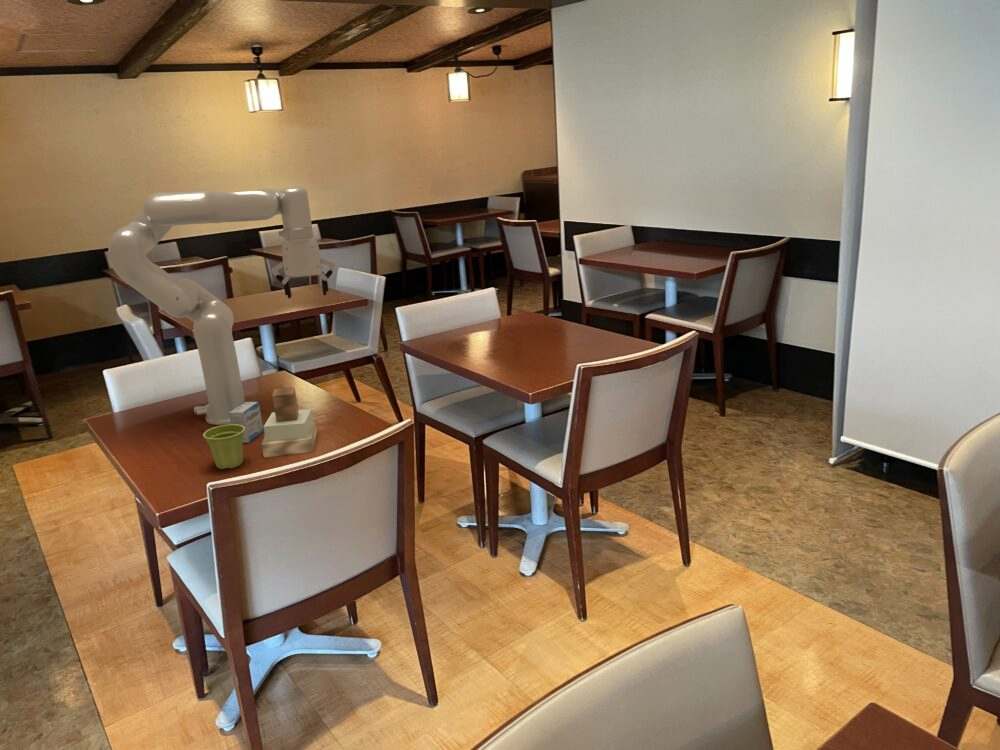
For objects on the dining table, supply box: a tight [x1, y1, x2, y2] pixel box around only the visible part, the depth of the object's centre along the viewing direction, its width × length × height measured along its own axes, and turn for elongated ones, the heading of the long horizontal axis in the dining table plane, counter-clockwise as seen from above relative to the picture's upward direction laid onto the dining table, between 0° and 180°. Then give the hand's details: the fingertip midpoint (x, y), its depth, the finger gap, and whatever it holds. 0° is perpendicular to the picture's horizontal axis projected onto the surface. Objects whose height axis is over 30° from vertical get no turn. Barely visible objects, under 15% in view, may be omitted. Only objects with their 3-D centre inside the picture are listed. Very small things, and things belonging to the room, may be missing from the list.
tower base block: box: [261, 421, 318, 458], centre depth 190 cm, size 12×12×4 cm
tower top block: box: [263, 408, 314, 442], centre depth 189 cm, size 10×10×4 cm
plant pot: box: [202, 424, 245, 470], centre depth 180 cm, size 9×9×9 cm
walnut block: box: [272, 386, 299, 422], centre depth 187 cm, size 5×5×7 cm
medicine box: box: [229, 401, 264, 444], centre depth 196 cm, size 8×4×9 cm, turn 168°
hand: (307, 295), depth 209 cm, fingers open, 9 cm apart
